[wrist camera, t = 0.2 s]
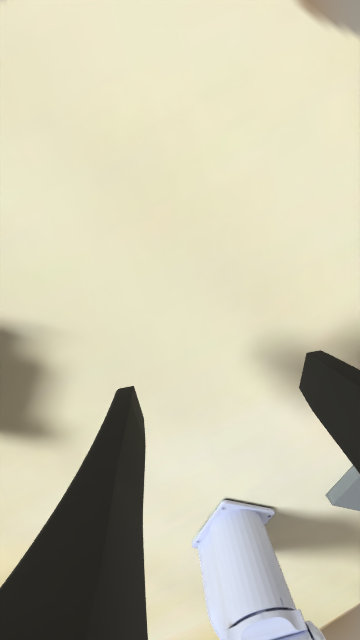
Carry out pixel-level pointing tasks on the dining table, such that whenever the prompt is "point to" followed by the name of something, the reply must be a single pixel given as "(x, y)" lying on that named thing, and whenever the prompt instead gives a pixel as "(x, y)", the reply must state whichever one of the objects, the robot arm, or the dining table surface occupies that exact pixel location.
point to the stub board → (346, 491)
